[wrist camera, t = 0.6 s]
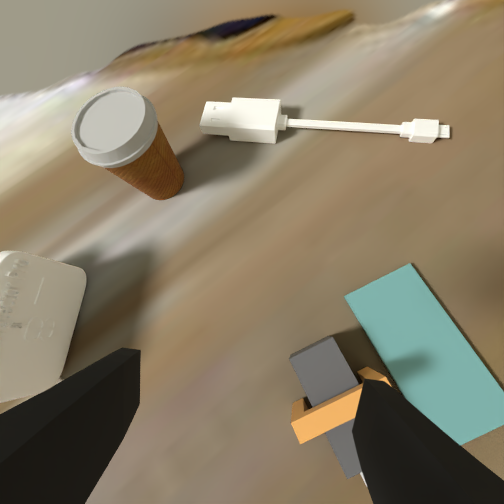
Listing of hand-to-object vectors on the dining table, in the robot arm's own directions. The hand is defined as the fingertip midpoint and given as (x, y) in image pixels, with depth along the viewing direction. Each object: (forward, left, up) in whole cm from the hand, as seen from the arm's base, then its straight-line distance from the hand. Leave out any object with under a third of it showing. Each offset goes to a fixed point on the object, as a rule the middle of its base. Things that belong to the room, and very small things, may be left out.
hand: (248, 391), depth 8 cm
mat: (-6, -13, -22) cm, 26 cm away
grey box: (-6, -3, -22) cm, 23 cm away
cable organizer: (+16, +27, -22) cm, 39 cm away
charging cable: (+24, -17, -22) cm, 37 cm away
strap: (-6, -3, -22) cm, 23 cm away
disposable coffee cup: (+28, +5, -22) cm, 36 cm away
